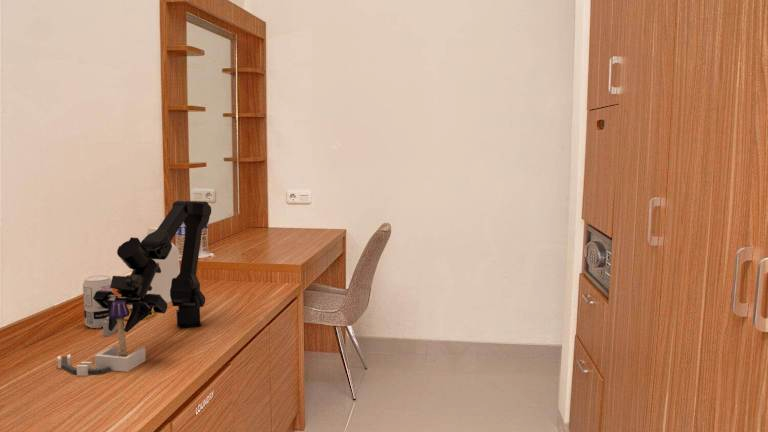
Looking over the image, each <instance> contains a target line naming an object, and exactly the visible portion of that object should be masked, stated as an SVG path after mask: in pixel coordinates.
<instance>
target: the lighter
mask: <svg viewBox="0 0 768 432" xmlns="http://www.w3.org/2000/svg"><path fill="white" fill-rule="evenodd" d="M108 326H109V316H108V317H106V321H104V322H103V328H102V331H103V332H102V333H103V337H110V336H112V335H114V334H116V333H117V325H116V326H115V327H114V328H113V330H112V331H110V330H109V329H108ZM115 332H116V333H115Z"/></svg>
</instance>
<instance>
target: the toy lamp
mask: <svg viewBox="0 0 768 432" xmlns="http://www.w3.org/2000/svg"><path fill="white" fill-rule="evenodd" d="M128 307H129V306H128V305H126V302H125V301H124V300H115V301H113V302H112V307H111V312H110V317H111V318H112V319H117V324H116V328H117V333H118V334H117V338H118V350H119V356H121V357H126V356H128V355H129V354H128V350H127V349H128V347H127V340H126V332H125V331H124V329H125V322H124V318H125V319H126V317H127V318H128V317H130V314H131V313H129V312H130V311H129V309H128Z"/></svg>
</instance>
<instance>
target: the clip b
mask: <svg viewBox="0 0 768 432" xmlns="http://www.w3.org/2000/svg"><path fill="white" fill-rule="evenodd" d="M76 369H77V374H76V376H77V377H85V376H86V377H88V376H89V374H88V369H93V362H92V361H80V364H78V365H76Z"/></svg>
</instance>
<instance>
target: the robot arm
mask: <svg viewBox="0 0 768 432" xmlns="http://www.w3.org/2000/svg"><path fill="white" fill-rule="evenodd" d="M211 214H212V206H211V205H210V204H209V202H207V201H204V200H203V201H202V200H201V201H200V200H199V201H198V200H176V201H174V202H173V203H172V207H171V209H170V210H169V211H168V213H167V215H166V216H165V218H164V219H163V220H162V221H161V224H160V225H159V226H158V227H157V228H158V229H157V230H156V231H155V232H153V233H150V234H148V235H147V234H146V235H145V236H144V237H143V239H142V240H140V238H138V237H130V238H129V240H127V241H125V242H123V243H122V244H121V245H119V246H118V248H117V251H116V254H117V256H118V257H119V258H120V259H121V261H123V264H125V265H126V267H128V268H129V269H131V270H132V271H131V274H130V275H126V276H122V275H112V278H111V280H112V281H111V286H110V288H113V289H115V290H116V292H117V293H118V294H119V295H120V296H119V295H118V296H117V295H116V294H114V292H113V293H112V292H111V291H104V290H99V291H97V292H96V293H95V295H94V297H93V299H94V300H95V301H96V302H97V303H98V304H99V305H100V306H101V307H102V308H105V309H109V326H108V329H109V330H110V331H112V330H113V328H114V327H115V326H116V327H117V323H118V322H117V319H112V318H111V317H110V312H111V307H112V302H113V301H115V300H124V301H125V302H126V305H127V306H130V305H132V312H131V311H130V312H131V313H130V314H129V316H128V318H127V319H128V321H126V324H125V325H124V328H125V329H124V331H125V333H128V332H129V331H130V330H132V329H133V328H134V327H135V326H136V325H137V324H138V323H140V322H142V321H144V320H143V319H146V318H145V317H148V316H151V315H153V311H154V312H155V313H157V314H165V313H166V312H167V309H168V303H166V301H165V300H164V299H163V298H162V297H161V296H160V294H147V292H148V291H151V290H152V287H151V286H150V285H151V282H152V280H153V278H154V276H155V273H161V269H160V267H159V263H156V262H155V261H154V260H153V259H160V260H163V259H166V258H167V257H168V255H169V253H170V251H171V248H172V243H173V242H172V240H173V239H174V237H175V236H176V234H177V233H178V231H179V230H180V227H181V226H182V225H183V224H184V226H185V231H184V232H185V233H184V239H183V246H182V247H183V248H182V252H181V253H182V254H181V262H180V273H179V275H178V276H177V277H176V278H173V279H172V283H171V289H170V297H171V301H172V302H171V303H172V306H173V307H177V308H178V309H176V312H175V313H176V325H177V326H178V328H179V329H184V328H192V327H193V328H194V327H201V326H202V323H201V308H202V307H204V305H205V303H206V296H205V295H204V294H203V293H202V291H201V283H200V281H199V279H198V276H197V271H198V263H199V262H198V261H199V255H200V249H201V248H200V247H201V241H202V234H203V230H204V228H205V227H206V226H207V224H208V223H209V221H210V218H211ZM171 242H172V243H171ZM151 310H153V311H152V312H151ZM155 313H154V314H155Z"/></svg>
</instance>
